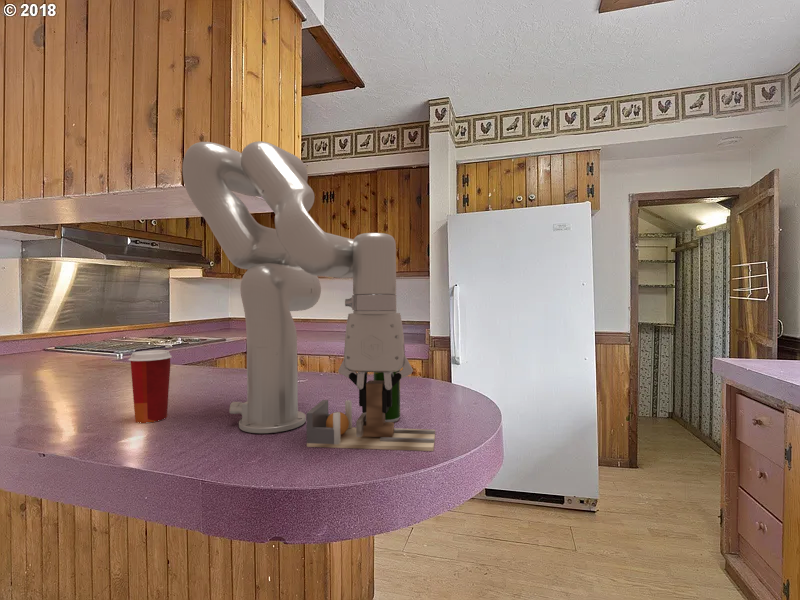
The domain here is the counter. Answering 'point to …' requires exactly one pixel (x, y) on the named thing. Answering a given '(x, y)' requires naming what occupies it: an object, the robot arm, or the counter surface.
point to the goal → (317, 424)
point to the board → (387, 440)
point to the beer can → (393, 411)
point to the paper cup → (150, 384)
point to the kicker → (374, 413)
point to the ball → (343, 422)
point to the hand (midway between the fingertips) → (375, 409)
